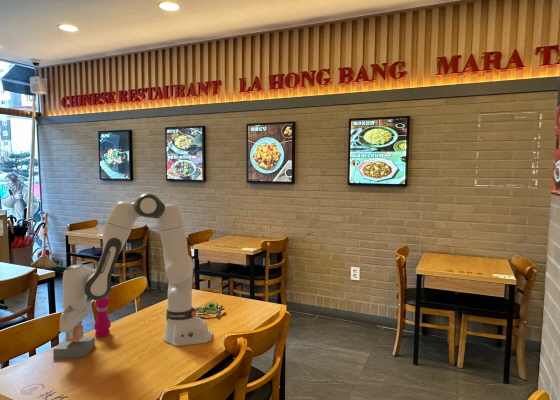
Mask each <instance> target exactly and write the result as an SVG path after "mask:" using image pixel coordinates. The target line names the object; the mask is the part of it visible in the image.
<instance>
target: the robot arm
mask: <svg viewBox="0 0 560 400" xmlns="http://www.w3.org/2000/svg"><path fill="white" fill-rule="evenodd" d="M138 218H147V219H155V220H156V221H157V224H158V229H159V233H160V234H159V235H160V238H161V244H162V251H163V263H164V268H165V269H164V270H165V276H166V279H167V280H168V286H167V287H168V288H167V308H166V312H165V313H166V315H165V317H166V328H165V333H164V337H163V340H164V341H165V342H166V343H168V344H171V345H173V346H174V347H179V346H190V345H191V346H192V345H198V344H199V345H200V344H201V343H202V344H208V343H209V342H210V341H211V340H212V339H211V338H213V336H212V335H213V331H212V330H211V329H209V328H208V324H207V322H206V320H204V318H200V317H198V316H197V315H196V308H197V307H193V305H192V303H193V301H192V300H193V296H192V295H193V293H192V292H193V278H194V276H193V275H194V262H193V261H194V260H193V258H192V257H191V256H190V255H189V250H188V240H187V235H186V230H185V226H184V221H183V218H182V215H181V212H180V210H179V207H178V206H177V205H175V204H173V203H163V202H162V200H161V199H160V198H159V197H158V196H157V195H155V194H154V193H149V192H147V193H146V192H145V193H142V194H140V195H139V196H137V197H136V199H135V200H133V201H132V202H130V201H126V200H125V201H123V200H121V201H118V202H116V203H115V205H114V206H113V208H112V210H111V211H110V213H109V215H108V217H107V220H106V222H105V224H104V227H103V232H102V253H101V257H100V259H99V262H98V264H97V268H96V269H95V268H91V267H89V266H86V265H85V264H82V263H76V264H73V265H70V266H67V267H66V268H65V269H64V271H63V275H62V289H63V293H62V294H63V295H62V309H64V310H63V312H62V313H60V316H59V318H60V319H59V331H60V333H66V332H68V334H69V338H73V337H74V333H73V330H74V327H75V326H76V325H83V321H84V319H85V318H87V317H88V315H89V313H90V301H91V300H93V301H96V300H102V299H104V298H106V297H107V298H108V296H109V295H110V294H111V292H112V276H113V272H114V269H115V266H116V263H117V260H118V257H119V255H120V253H121V251H122V250H123V248H124V246H125V244H126V242H127V240H128V238H129V236H130V234H131V232H132V229H133V227H134V225H135V222H136V221H137V220H138ZM209 340H210V341H209ZM208 341H209V342H208ZM207 342H208V343H207ZM202 344H201V345H202Z"/></svg>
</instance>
